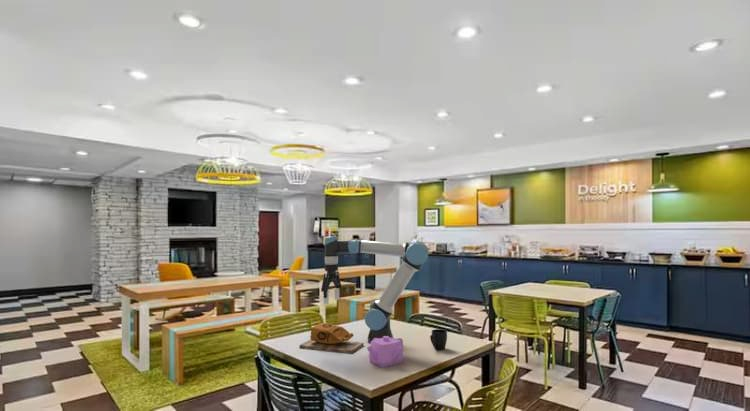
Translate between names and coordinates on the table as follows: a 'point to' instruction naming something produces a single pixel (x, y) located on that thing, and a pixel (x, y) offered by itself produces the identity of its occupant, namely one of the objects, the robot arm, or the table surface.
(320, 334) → the coffee package
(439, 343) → the mug
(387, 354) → the teakettle
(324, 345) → the walnut board
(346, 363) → the table surface
